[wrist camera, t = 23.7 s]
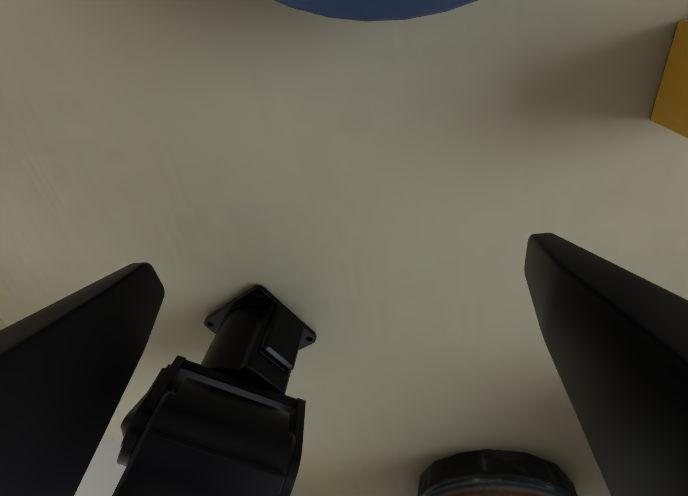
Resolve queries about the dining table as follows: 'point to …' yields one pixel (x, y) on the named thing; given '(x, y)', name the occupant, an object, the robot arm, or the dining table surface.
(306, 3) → the lid
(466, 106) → the dining table surface
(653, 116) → the block
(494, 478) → the beer stein
